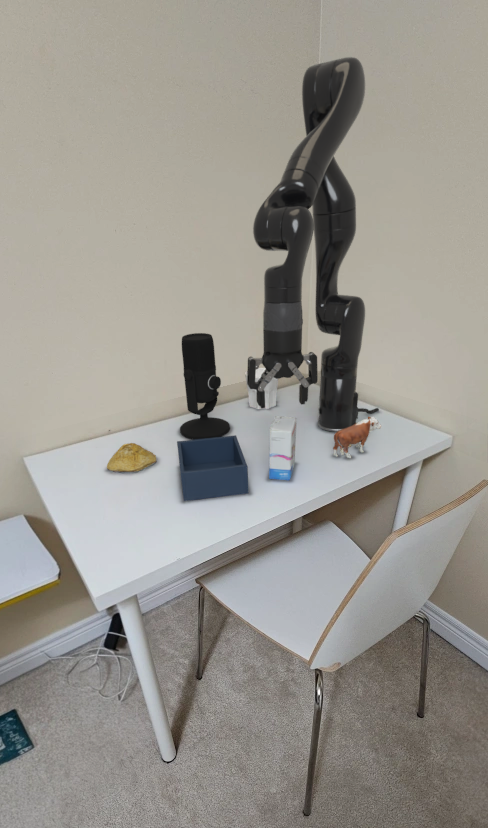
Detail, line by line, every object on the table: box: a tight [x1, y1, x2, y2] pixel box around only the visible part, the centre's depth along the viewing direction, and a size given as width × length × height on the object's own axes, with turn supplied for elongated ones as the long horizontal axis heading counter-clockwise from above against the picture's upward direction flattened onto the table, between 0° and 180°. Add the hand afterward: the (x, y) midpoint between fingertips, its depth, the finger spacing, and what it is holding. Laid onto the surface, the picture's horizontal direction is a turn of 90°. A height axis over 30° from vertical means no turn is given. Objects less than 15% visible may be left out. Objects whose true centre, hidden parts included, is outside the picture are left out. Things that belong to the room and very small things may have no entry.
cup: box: [244, 367, 279, 410], centre depth 143 cm, size 10×10×10 cm
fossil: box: [106, 442, 158, 473], centre depth 113 cm, size 11×6×10 cm
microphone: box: [179, 332, 231, 440], centre depth 124 cm, size 14×14×25 cm
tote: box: [176, 434, 250, 502], centre depth 104 cm, size 14×16×7 cm
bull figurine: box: [332, 415, 382, 459], centre depth 113 cm, size 4×13×8 cm, turn 120°
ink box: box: [268, 415, 298, 481], centre depth 105 cm, size 9×5×12 cm, turn 168°
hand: (282, 405), depth 100 cm, fingers open, 8 cm apart
